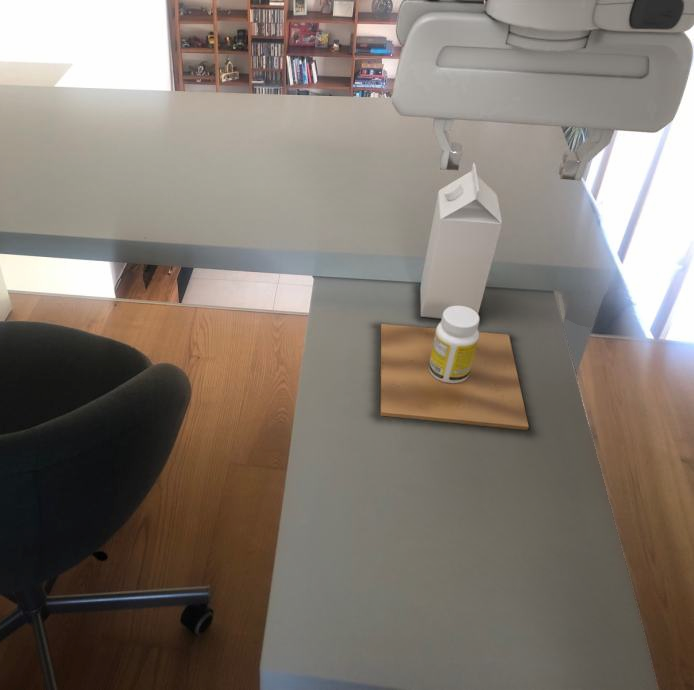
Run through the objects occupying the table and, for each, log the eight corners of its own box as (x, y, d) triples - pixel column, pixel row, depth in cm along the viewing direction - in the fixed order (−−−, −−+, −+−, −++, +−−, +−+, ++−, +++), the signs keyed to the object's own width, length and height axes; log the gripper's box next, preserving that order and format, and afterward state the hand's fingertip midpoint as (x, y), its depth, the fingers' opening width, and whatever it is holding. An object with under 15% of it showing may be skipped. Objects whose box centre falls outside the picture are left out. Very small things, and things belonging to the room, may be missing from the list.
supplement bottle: (472, 364, 84) (487, 309, 78) (464, 389, 81) (479, 333, 75) (432, 353, 85) (444, 299, 80) (423, 377, 82) (435, 322, 77)
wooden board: (527, 430, 76) (528, 426, 76) (380, 415, 79) (381, 411, 78) (507, 337, 88) (509, 334, 88) (380, 327, 91) (381, 323, 90)
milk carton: (472, 291, 96) (504, 164, 84) (476, 323, 91) (510, 193, 78) (420, 286, 97) (443, 160, 85) (420, 318, 92) (446, 188, 79)
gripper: (399, -7, 47) (376, 178, 56) (730, 5, 44) (649, 201, 53) (403, -29, 52) (381, 145, 61) (702, -20, 48) (632, 164, 57)
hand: (507, 172), depth 57 cm, fingers open, 8 cm apart
